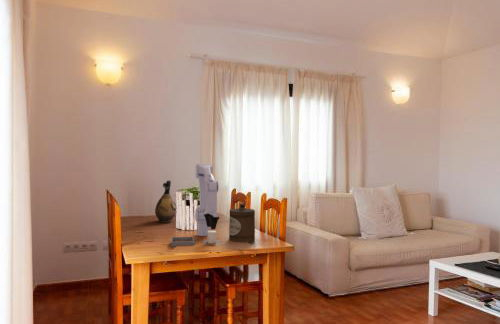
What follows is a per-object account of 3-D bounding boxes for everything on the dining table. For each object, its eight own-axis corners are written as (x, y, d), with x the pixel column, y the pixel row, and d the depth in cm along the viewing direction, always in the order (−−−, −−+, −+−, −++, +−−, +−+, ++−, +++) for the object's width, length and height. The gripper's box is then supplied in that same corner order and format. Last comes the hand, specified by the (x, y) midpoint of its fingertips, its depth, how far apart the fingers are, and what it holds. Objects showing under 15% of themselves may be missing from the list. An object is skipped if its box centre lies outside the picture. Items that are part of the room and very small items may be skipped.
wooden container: (225, 239, 233) (226, 202, 233) (248, 237, 240) (249, 201, 239) (234, 245, 220) (235, 205, 219) (259, 243, 226) (259, 204, 226)
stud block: (202, 242, 225) (202, 232, 225) (219, 241, 227) (219, 232, 227) (203, 247, 214) (203, 237, 213) (222, 246, 215) (222, 236, 215)
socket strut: (207, 241, 222) (207, 230, 222) (215, 241, 223) (215, 230, 223) (208, 243, 218) (208, 232, 218) (216, 243, 219) (216, 232, 218)
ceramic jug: (174, 223, 283) (174, 181, 283) (152, 223, 283) (153, 181, 283) (178, 219, 300) (179, 180, 300) (158, 219, 300) (158, 179, 300)
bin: (171, 242, 223) (171, 237, 223) (193, 242, 225) (193, 236, 225) (171, 247, 211) (171, 242, 211) (194, 247, 213) (194, 241, 213)
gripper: (200, 202, 223) (200, 226, 224) (208, 205, 210) (208, 231, 211) (212, 201, 226) (212, 225, 227) (221, 205, 213) (220, 230, 213)
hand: (211, 228), depth 219 cm, fingers open, 7 cm apart
